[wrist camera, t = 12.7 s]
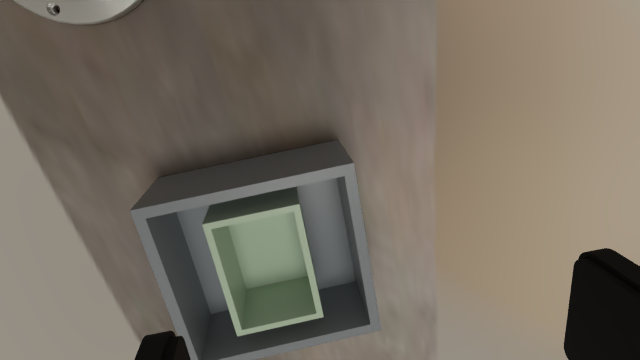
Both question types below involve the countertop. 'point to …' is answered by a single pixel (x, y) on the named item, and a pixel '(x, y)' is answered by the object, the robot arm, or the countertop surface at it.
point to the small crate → (264, 260)
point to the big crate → (199, 269)
